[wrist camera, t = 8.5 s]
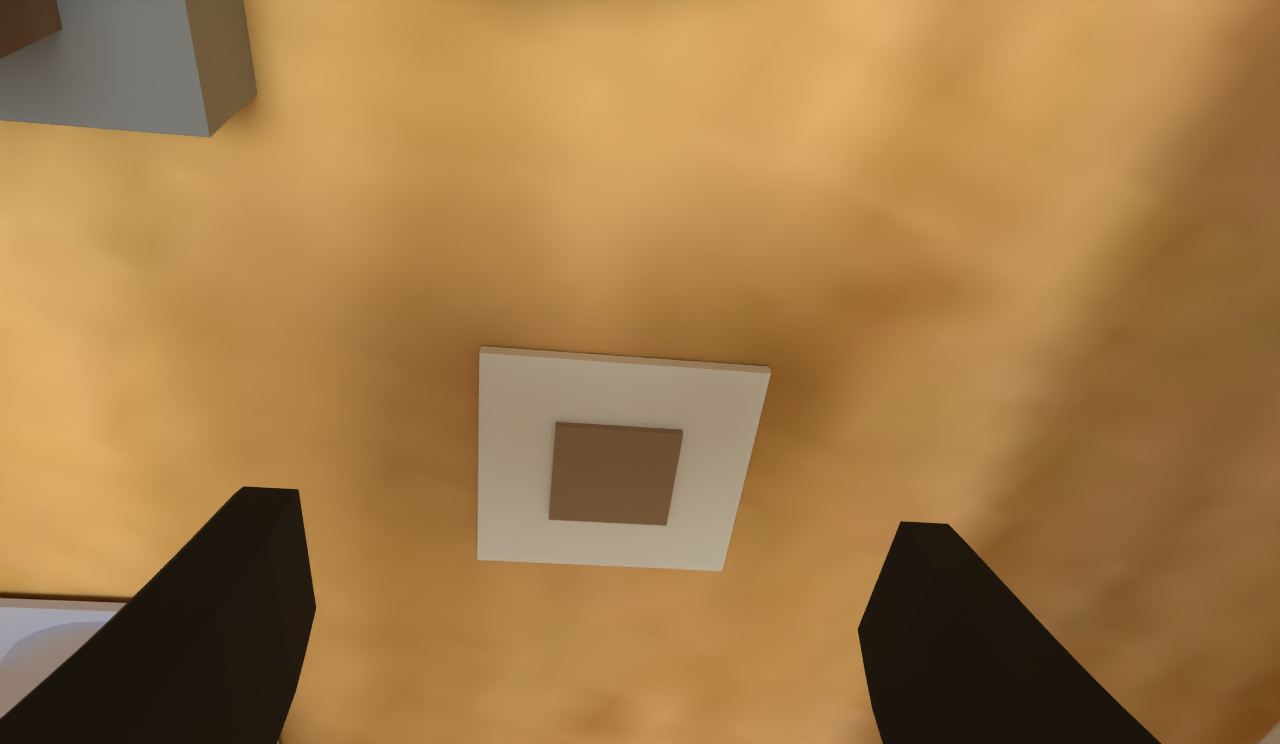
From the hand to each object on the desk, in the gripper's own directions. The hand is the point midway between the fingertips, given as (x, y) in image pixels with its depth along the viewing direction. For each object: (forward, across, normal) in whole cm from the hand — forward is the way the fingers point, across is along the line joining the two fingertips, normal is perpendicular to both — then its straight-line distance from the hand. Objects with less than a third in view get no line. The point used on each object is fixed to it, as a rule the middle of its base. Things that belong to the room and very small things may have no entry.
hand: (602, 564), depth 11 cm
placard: (+10, -1, +7) cm, 12 cm away
